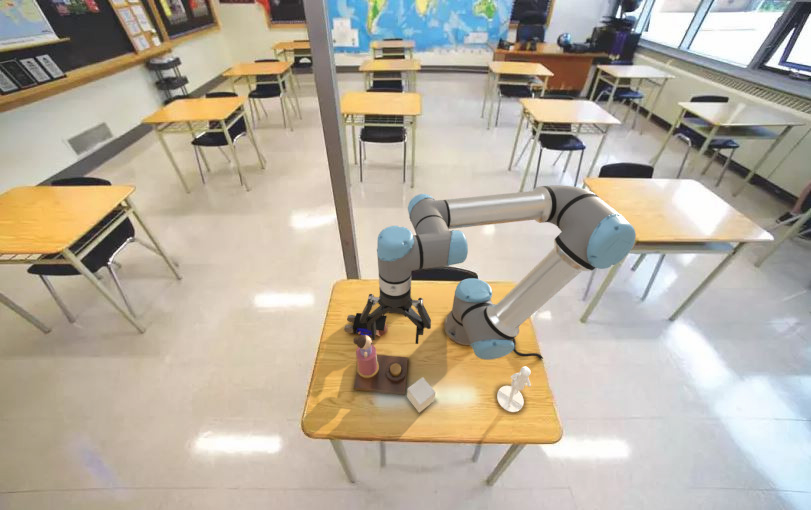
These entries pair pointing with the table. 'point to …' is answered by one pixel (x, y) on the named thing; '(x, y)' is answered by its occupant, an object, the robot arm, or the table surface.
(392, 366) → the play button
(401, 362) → the brown wooden base
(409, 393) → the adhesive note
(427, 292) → the table surface
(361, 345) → the doll
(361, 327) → the figurine character
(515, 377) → the figurine
